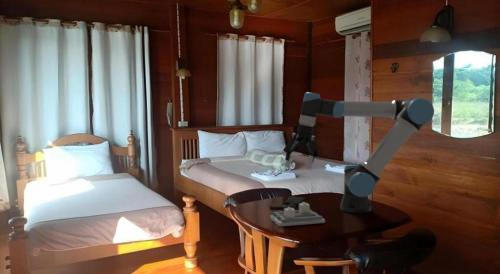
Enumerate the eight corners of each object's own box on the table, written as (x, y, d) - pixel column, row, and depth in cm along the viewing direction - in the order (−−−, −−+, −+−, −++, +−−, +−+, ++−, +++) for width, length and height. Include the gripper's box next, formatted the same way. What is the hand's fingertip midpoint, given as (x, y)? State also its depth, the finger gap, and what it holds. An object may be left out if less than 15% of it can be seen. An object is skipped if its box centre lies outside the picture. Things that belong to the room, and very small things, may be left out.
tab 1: (292, 218, 186) (292, 206, 185) (294, 220, 182) (295, 208, 182) (284, 219, 185) (284, 207, 184) (286, 221, 181) (286, 209, 181)
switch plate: (313, 215, 197) (313, 209, 197) (324, 222, 185) (324, 216, 184) (270, 218, 192) (270, 212, 191) (278, 226, 179) (279, 219, 179)
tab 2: (306, 213, 195) (306, 201, 194) (309, 215, 192) (309, 203, 191) (298, 213, 194) (298, 202, 193) (301, 215, 191) (301, 204, 190)
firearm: (280, 194, 235) (305, 196, 230) (280, 198, 235) (305, 200, 230) (266, 206, 208) (295, 208, 203) (266, 210, 208) (295, 212, 203)
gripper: (320, 126, 204) (312, 167, 206) (281, 120, 190) (273, 164, 192) (330, 128, 197) (322, 171, 199) (291, 123, 184) (282, 168, 186)
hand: (298, 168), depth 196 cm, fingers open, 13 cm apart
